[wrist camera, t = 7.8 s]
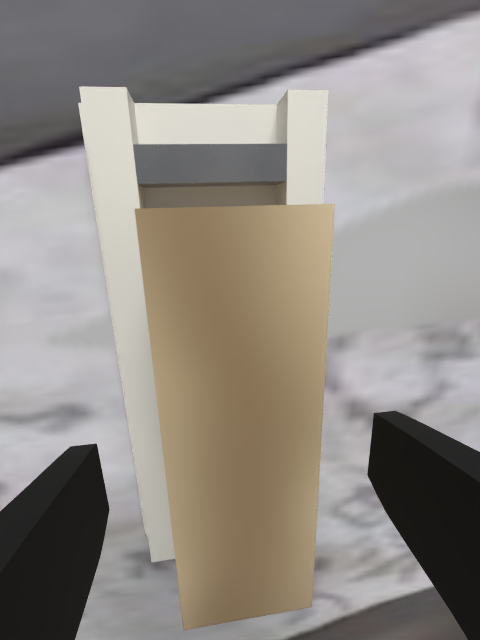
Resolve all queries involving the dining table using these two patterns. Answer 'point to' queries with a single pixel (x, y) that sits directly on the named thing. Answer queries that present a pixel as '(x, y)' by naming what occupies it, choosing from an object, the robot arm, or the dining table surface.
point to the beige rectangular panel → (239, 397)
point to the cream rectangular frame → (174, 192)
